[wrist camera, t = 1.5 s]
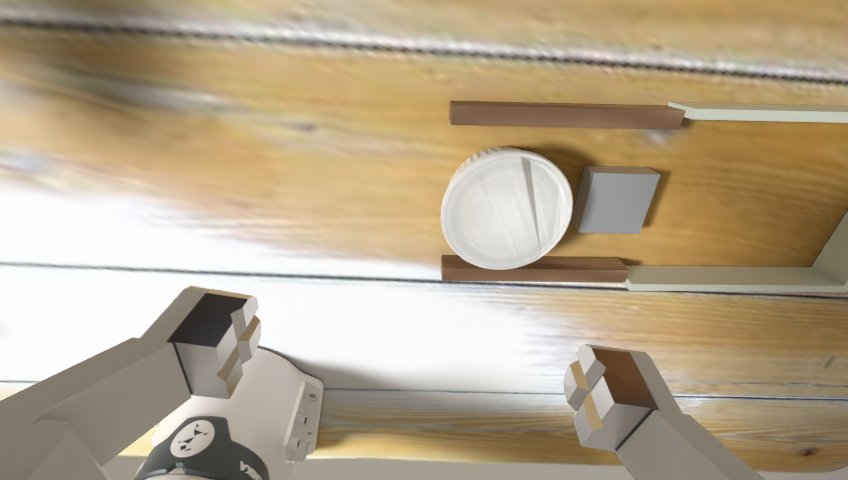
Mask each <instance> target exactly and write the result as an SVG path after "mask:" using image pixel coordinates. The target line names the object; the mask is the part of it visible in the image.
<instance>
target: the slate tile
mask: <svg viewBox="0 0 848 480" xmlns="http://www.w3.org/2000/svg"><path fill="white" fill-rule="evenodd" d="M659 178H660V174H659V173H657V172H655V171H653V170H652V169H650V168H648V167H625V166H584V170H583V174H582V178H581V182H580V187H579V191H578V195H577V199H576V203H575V207H574V211H573V215H572V219H571V224H572V225H573V227H574V228H575V229H576V230H577V231H578V233H623V234H640V231H641V228H642V225H643V222H644V220H645V217H646V214H647V211H648V209H649V206H650V203H651V200H652V197H653V195H654V192H655V189H656V186H657V183H658V181H659Z"/></svg>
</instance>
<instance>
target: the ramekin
mask: <svg viewBox="0 0 848 480" xmlns="http://www.w3.org/2000/svg"><path fill="white" fill-rule="evenodd" d="M572 212H573V195H572V190H571V187H570V184H569V182H568V180H567V178H566V177H565V175H564V174H563V172H562V171H561V170H560V169H559V168H558V167H557V166H556V165H555V164H554V163H552V162H551V161H550V160H548V159H547V158H545V157H543V156H541V155H539V154H536V153H533V152H530V151H525V150H520V149H517V148H512V147H495V148H489V149H487V150H483V151H481V152H479V153H476V154H474V155H473V156H471V157H469V158H468V159H467V160H466V161H464V162H463V163H462V165H461V166H459V168H458V169H457V171H456V172H455V173H454V175H453V176H452V178H451V181H450V183H449V185H448V188H447V190H446V193H445V195H444V198H443V201H442V206H441V225H442V229H443V233H444V236H445V238H446V240H447V242H448V244H449V245H450V247H451V248H452V249H453V251H454V252H455V253H457V255H459V256H460V257H461V258H462V259H464V260H465V261H467V262H469V263H471V264H473V265H476V266H478V267H481V268H486V269H493V270H506V269H513V268H518V267H521V266H524V265H527V264H530V263H532V262H534V261H536V260H538V259H540V258H541V257H543V256H544V255H546V254H547V253H548V252H549V251H550V250H551V249H553V248H554V247H555V246H556V244H557V243H558V242H559V241H560V240H561V238H562V237H563V235H564V234H565V232H566V230H567V228H568V226H569V223H570V220H571V217H572Z"/></svg>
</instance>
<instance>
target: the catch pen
mask: <svg viewBox="0 0 848 480" xmlns="http://www.w3.org/2000/svg"><path fill="white" fill-rule="evenodd" d="M668 106H671V107H674V108H678V109H682V110H686V112H685V115H684V117H685V118H689V119H698V120H745V121H792V122H839V123H848V106H823V105H778V104H734V103H690V102H669V103H668ZM625 266H626V267H627V268H628V269H629V270H630V271H629V274H628V276H627V279H626V282H623V283H624V285H625V286H626V287H627V288H628V289H629V291H748V292H847V291H848V210H847V212H846V214H845V215H844V217H843V218H842V220H841V221H840V223H839V225H838V226H837V228H836V229H835V231H834V232H833V234H832V235H831V237H830V239H829V240H828V242H827V243H826V245H825V246H824V248H823V250H822V251H821V253H820V254H819V256H818V257H817V259H816V261H815V262H814V264H813V265H812V267H745V266H648V265H625Z"/></svg>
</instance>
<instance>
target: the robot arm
mask: <svg viewBox="0 0 848 480" xmlns="http://www.w3.org/2000/svg"><path fill="white" fill-rule="evenodd" d="M257 309H258V303H257V298H256V297H254V296H249V295H244V294H238V293H232V292H226V291H220V290H214V289H206V288H200V287H195V286H190V287H188V288H186V289H184V290H183V291H182V292H181V293H180V294H179V295H178V296H177V297H176V298H175V300H174V301H173V302H172V303H171V304H170V305H169V306H168V307H167V308H166V310H165V311H164V312H163V313H162V314H161V315H160V316H159V317H158V318H157V320H156V321H155V322H154V323H153V324H152V325H151V326H150V327H149V328H148V330H147V331H146V332H145V333H144V334H143V335H142V336H141V337H140V338H131V339H129V340H126V341H124V342H122V343H120V344H118V345H116V346H114V347H112V348H110V349H108V350H106V351H104V352H101V353H99V354H97V355H95V356H93V357H91V358H89V359H87V360H85V361H83V362H81V363H78V364H76V365H74V366H72V367H70V368H68V369H66V370H64V371H62V372H60V373H58V374H56V375H53V376H51V377H49V378H47V379H45V380H43V381H41V382H39V383H37V384H35V385H33V386H30V387H28V388H26V389H24V390H22V391H20V392H18V393H16V394H14V395H12V396H10V397H8V398H5V399H3V400H1V401H0V480H111V479H110V478H109V476H108V475H107V474H106V472H105V471H104V469H103V468H102V466H103V465H104V464H106V463H107V462H108V461H110V460H111V459H112V458H114V457H115V456H116V455H118V454H119V453H120V452H121V451H123V450H124V449H125V448H127V447H128V446H129V445H131V444H132V443H133V442H134V441H136V440H137V439H138V438H140V437H141V436H142V435H144V434H145V433H146V432H147V431H149V430H150V429H151V428H153V427H154V426H155V425H157V424H158V423H159V422H160V421H162V420H163V421H162V422H161V424H160V426H159V428H158V430H157V432H156V433H155V435H154V437H153V440H152V445H153V447H154V448H153V450H152V451H151V453H150V454H149V456H148V457H147V459H146V461H144V462H143V464H142V465H141V467H140V468H139V470H138V471H137V473H136V476H135V479H134V480H288V479H289V478H290V476H291V473H292V470H293V467H294V464H295V461H296V462H304V461H305V458H306V456H307V455H309V454H311V453H313V452H314V450H315V447H316V444H317V436H318V429H319V421H320V413H321V406H322V398H323V390H324V384H323V383H322V382H321V381H320V380H318V379H316V378H314V377H312V376H309V375H307V374H304V373H303V372H301V371H300V370H299V369H297V368H296V367H295V366H294V365H293V364H291V363H290V362H289V361H287V360H286V359H284V358H283V357H281V356H279V355H277V354H275V353H272V352H270V351H267V350H264V349H260V348H257V346H258V343H259V340H260V336H261V322H260V320H259V319H258V318H257V317H256V316H255V315H254V314H255V313H256V311H257ZM576 354H577V356H578V359H579V360H578V361H576V362H574V363H572V364H570V365H569V367H568V369H567V371H566V373H565V379H564V390H565V395H566V399H567V402H568V403H569V404H570V405H571V406H572V407H573V409H574V410H575V411H576V412H575V415H574V417H573V422H574V426H575V429H576V432H577V435H578V439H579V442H580V445H581V446H582V447H589V448H595V449H601V450H607V451H613V452H616V453H615V455H616V456H617V457H618V458H619V460H620V461H621V462H622V463H623V465H624V466H625V467H626V469H627V470H628V471H629V472H630V474H631V475H632V476H633V478H634V479H635V480H765V479H764V478H763V477H761V476H760V475H759V474H758V473H757V472H756V471H754V470H753V469H752V468H751V467H750V466H749V465H747V464H746V463H745V462H744V461H743V460H742V459H740V458H739V457H738V456H737V455H736V454H734V453H733V452H732V451H731V450H730V449H729V448H727V447H726V446H725V445H724V444H723V443H722V442H720V441H719V440H718V439H717V438H716V437H715V436H713V435H712V434H711V433H710V432H709V431H708V430H706V429H705V428H704V427H703V426H702V425H701V424H699V423H698V422H697V421H696V420H695V419H693V418H692V417H691V416H690V415H687V414H683V413H682V412H681V410H680V408H679V406H678V404H677V403H676V401H675V399H674V397H673V396H672V394H671V392H670V390H669V389H668V387H667V385H666V383H665V382H664V380H663V378H662V376H661V375H660V373H659V371H658V369H657V368H656V366H655V364H654V362H653V361H652V359H651V357H650V356H649V355H648V354H646V353H645V352H639V351H632V350H623V349H618V348H611V347H603V346H596V345H588V344H585V345H583V346H581V347H580V349H579V350H578V352H577V353H576Z"/></svg>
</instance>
